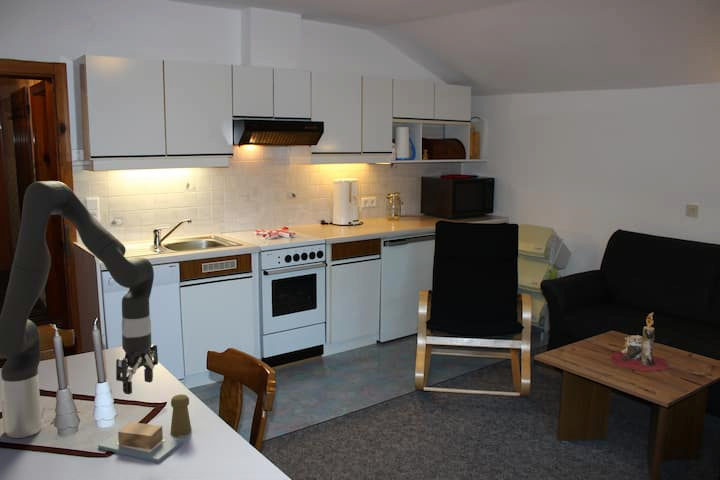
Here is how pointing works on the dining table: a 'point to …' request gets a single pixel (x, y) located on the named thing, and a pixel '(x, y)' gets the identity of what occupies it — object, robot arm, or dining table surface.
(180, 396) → the olive pawn
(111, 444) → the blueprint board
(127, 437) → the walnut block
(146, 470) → the dining table surface
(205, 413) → the dining table surface
